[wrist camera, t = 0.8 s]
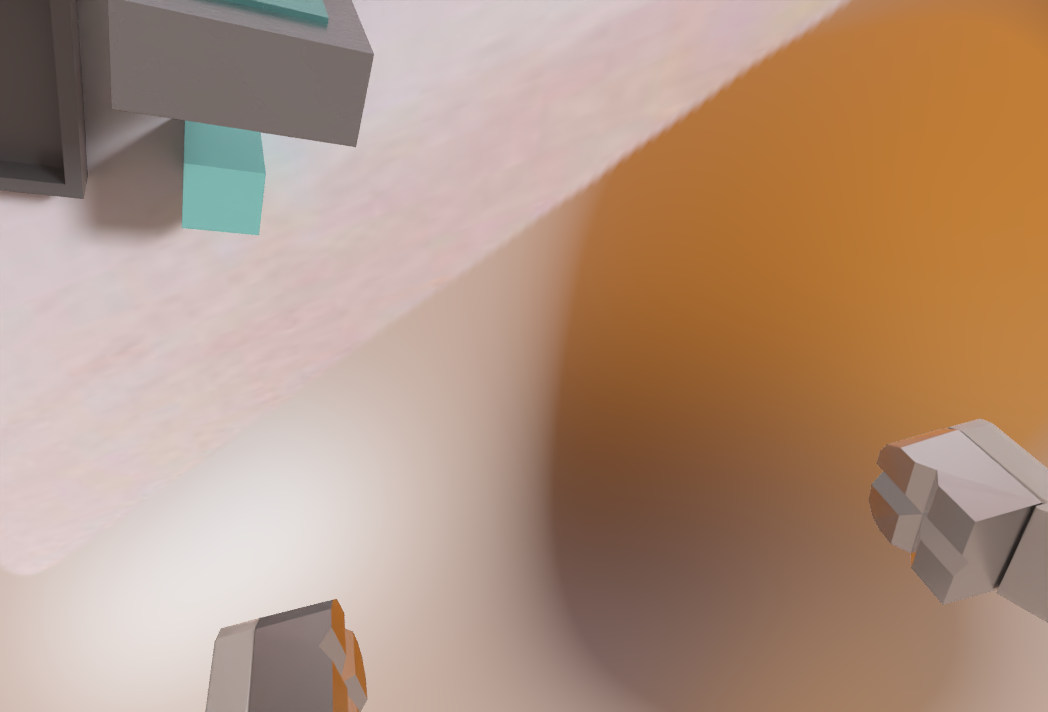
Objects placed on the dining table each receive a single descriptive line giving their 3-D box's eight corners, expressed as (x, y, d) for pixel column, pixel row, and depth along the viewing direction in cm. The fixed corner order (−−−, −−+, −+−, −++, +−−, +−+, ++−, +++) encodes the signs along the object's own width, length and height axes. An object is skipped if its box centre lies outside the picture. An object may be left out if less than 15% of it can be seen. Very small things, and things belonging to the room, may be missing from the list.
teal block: (185, 110, 40) (183, 163, 37) (259, 122, 42) (265, 174, 38) (183, 172, 43) (181, 227, 39) (253, 180, 45) (258, 235, 41)
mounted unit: (106, -155, 32) (68, -61, 22) (352, -82, 36) (406, 21, 27) (110, -15, 35) (80, 116, 26) (334, 35, 40) (377, 160, 31)
